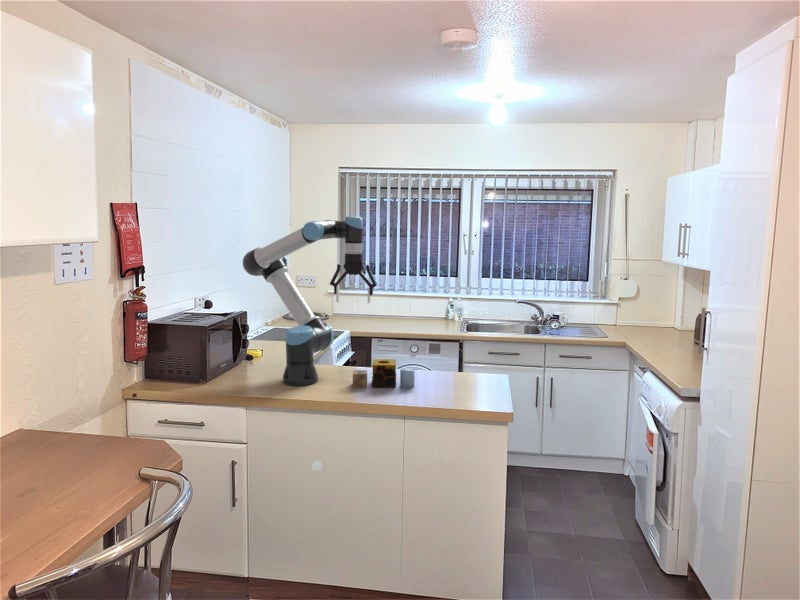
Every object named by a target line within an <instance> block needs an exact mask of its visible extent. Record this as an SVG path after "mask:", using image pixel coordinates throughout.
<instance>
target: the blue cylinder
mask: <svg viewBox="0 0 800 600" xmlns="http://www.w3.org/2000/svg"><path fill="white" fill-rule="evenodd" d="M399 371H400V373H399V374H400V376H399V377H400V379H399V382H400V383H399V385H400V388H403V389H413V388H415V373H416V372H415V368H409V367H406V368H401V369H399Z"/></svg>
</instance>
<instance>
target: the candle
mask: <svg viewBox="0 0 800 600" xmlns="http://www.w3.org/2000/svg"><path fill="white" fill-rule="evenodd" d="M396 361H397V360H396V359H392V358H389V359H388V358H381V359H379V358H375V359H373V360H372V366H371V367H372V375H371V377H372V378H371V387H372V388H375V389H376V388H377V389H379V388H381V389H383V388H386V389H387V388H388V389H389V388H391V389H395V388H397V370H396V369H397V368H396V365H397V364H396Z"/></svg>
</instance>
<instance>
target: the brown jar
mask: <svg viewBox="0 0 800 600" xmlns="http://www.w3.org/2000/svg"><path fill="white" fill-rule="evenodd" d="M359 388H360V389H363V388H365V389H367V388H368V370H367V369H360V370H359V369H356V370H355V369H353V370H352V389H359Z"/></svg>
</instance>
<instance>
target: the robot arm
mask: <svg viewBox="0 0 800 600" xmlns="http://www.w3.org/2000/svg"><path fill="white" fill-rule="evenodd" d="M363 222H364V221H363V218H362V217H361V216H345V218H344V220H331V219H326V220H318V221H317V220H311V221H307V222H306V223H305V224H304V225H303V227H300V228H299V229H297V230H295V231H293V232H290V233H289V234H287V235H285V236H284V237H282V238H279V239H278V240H275V241H273V242H271V243H270V244H267V245H265V246H263V247H260V246H259V247H256V248H254V249H252V250H250V251H247V253H246V254H244V256H243V258H242V268H243V269H244V272H246V273H247V274H248V275H250V276H254V277H261V276H262V277H263V279H264V281H265V282H266V283H269V284H271V285H272V287H273V289H275V291H276V293H277V294H278V297H280V299H281V301H282V302H283V304H284V305H285V307H286V309H287V310H288V312H289V313H290V315H291V316H292V318H293V320H294V321H295V322H296V324H297V326H293V327H291V328H289V329H287V331H286V333H285V339H284V340H285V356H286V357H285V358H286V359H285V361H286V365H285V367H284V370H283V371H284V372H283V375H282V383H284V384H285V385H288V386H296V387H297V386H310V385H314V384H315V383H317V382H318V381H319V375H318V371H317V369H316V366H315V363H314V361H315V360H314V354H315V353H318V352H321V351H324V350H325V351H326V349H328V348H330V347H331V346H332V344H333V343H334V339H335V331H334V328H333V327H332V326H331V325H330V324H329V323H326V322H323V320H322V319H321V317H320V316H316V315H315V314H314V313H313V311H312V309H311V308H310V306H309V305H308V303H307V302H306V300H305V299H304V297H303V295H302V294H301V293H300V291H299V289H298V288H297V286H296V285H295V283H294V281H293V280H292V278H291V277H290V275H289V274H288V273H289V268H288V258H287V256H289V255H291V254H292V253H295V252H297V251H299V250H301V249H303V248H305V247H307V246H308V245H311V244H313V243H316V242H318V241H319V240H329V239H344V252H345V253H344V264H341V263H338V264H337V266H336V270H335V272H334V274H333V276H332V278H331V279H330V282H329V285H330V286H333V294H334V295H336V297H335V298H336V303H339V302H340V286H339V284H340V283H341V282H342V281H343V280H344V279H345V277H346V276H347V275H350V276H351V275H354V276H357V275H359V276H360V277H361V279H362V280H363V281H364V282H365V284H367V286H368V287H367V304H370V303H371V296H373V293H374V288H375V287H377V285H378V282H377V281H376V278H375V276H374V275H373V272H372V271H371V267H370V266H371V265H370V264H369V263H368V264H363V250H364V249H363V247H364V246H363V231H364V225H363ZM342 269H344V270H345V272H344V273H342V275H341V276H340V277H339V274H340V272H341V271H342ZM363 269H364V270H365V271H366V272H367V274H368V276H369V278H368V277H367V276H366V275H365V274H364V272H363ZM337 277H339V278H338V279H337ZM336 279H337V281H336ZM369 279H370V280H371V281H370V280H369Z"/></svg>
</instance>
